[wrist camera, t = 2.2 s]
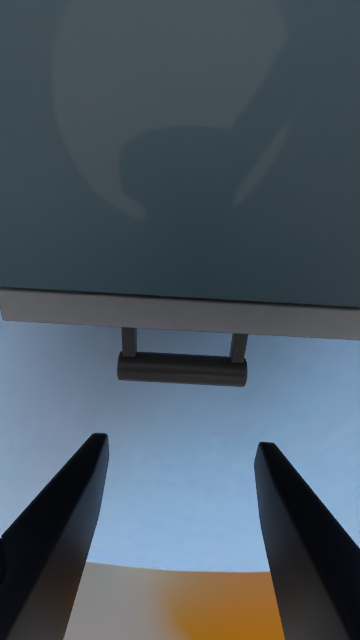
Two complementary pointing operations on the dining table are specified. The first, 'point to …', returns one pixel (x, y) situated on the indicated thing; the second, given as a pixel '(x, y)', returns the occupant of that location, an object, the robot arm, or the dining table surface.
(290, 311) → the drawer
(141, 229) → the cabinet
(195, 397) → the dining table surface
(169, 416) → the dining table surface
